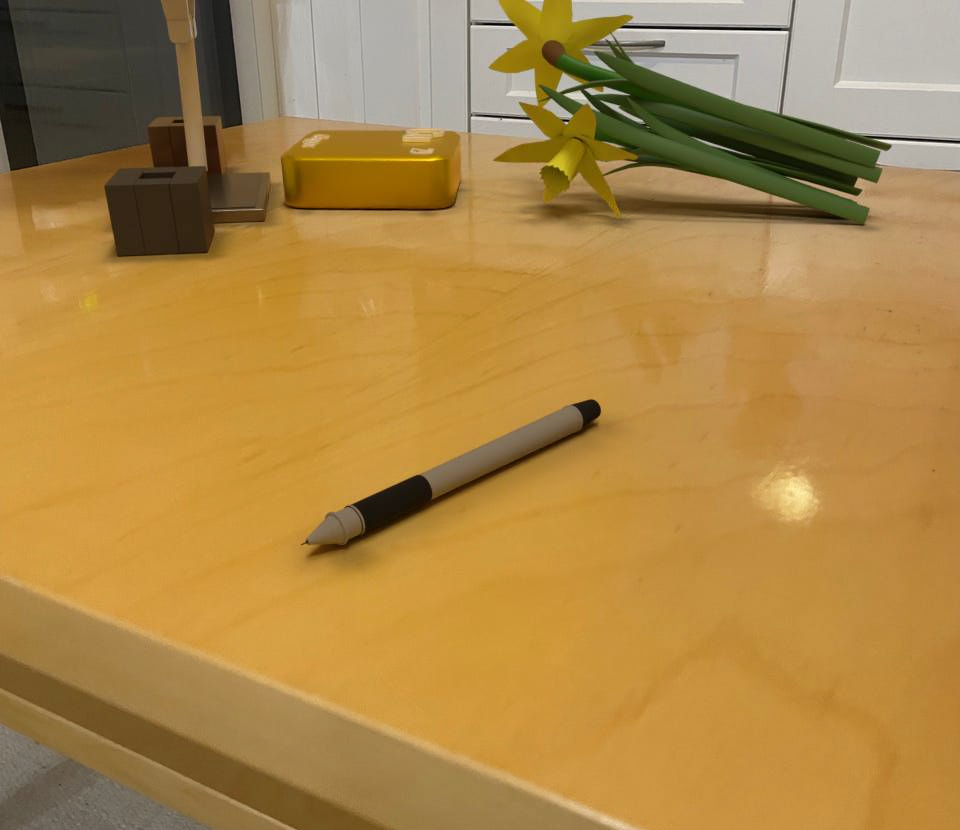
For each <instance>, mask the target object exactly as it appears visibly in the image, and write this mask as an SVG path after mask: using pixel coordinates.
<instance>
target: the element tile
mask: <svg viewBox="0 0 960 830" xmlns="http://www.w3.org/2000/svg"><path fill="white" fill-rule="evenodd" d="M280 164H281V174H282V184H283V195H284V202H285V204H286V205H287V206H289V207H291V208H296V209H327V210H328V209H329V210H330V209H332V210H333V209H334V210H335V209H336V210H337V209H338V210H339V209H341V210H342V209H343V210H351V209H352V210H441V209H445V208H449V207H451V206H453V205H454V203H455V201H456V197H457V193H458V189H459V185H460V182H461V179H462V137H461V136H460V134H459V133H457V131H454V130H444V129H442V128H433V127H432V128H429V127H423V128H422V127H420V128H419V127H418V128H409V129H406V130H367V129H366V130H365V129H364V130H359V129H358V130H351V129H350V130H349V129H347V130H346V129H343V130H342V129H337V130H336V129H334V130H333V129H331V130H330V129H326V130H325V129H324V130H323V129H321V130H320V129H319V130H314V131H312V132H310V133H307V134H305V135H304V136H303V137H302V138H301V139H300V140H298V141H297V142H296V143H295V144H294V145H292V146H291V147H289V148H288V150H286V151H285V152H283V153H282V154H281V155H280Z"/></svg>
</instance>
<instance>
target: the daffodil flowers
mask: <svg viewBox="0 0 960 830" xmlns="http://www.w3.org/2000/svg"><path fill="white" fill-rule="evenodd" d="M497 1H498V3H499V6H500V7H501V9H502V10H503V12H504V14H505V16H506V17H507V18H508V20H509V21H511V23H512V24H513V25H514V26H515V27H516V28H517V29H518V30H519V31H520V32H521V33H522V34H523V36H525V38H526V39H525V40H522V41H520V42H519V43H517V44H516V45H514V46H513V47H511V48H509V49H508V50H507V51H505V52H504V53H502V54H501V55H500V56H498V58H496V59H495V60H494V61H493V62H492V63H491V64H490V65H489V66H488V69H489V70H491V71H495V72H499V73H502V74H520V73H523V72H526V71H530V70H534V89H535V96H536V101H537V105H536V104H529V103H526V102H522V101H518V104H519V106H520V107H521V109H522V110H523V112H524V113H525V115H526V116H527V117H528V118H529V119H530V120H531V121H532V123H533V124H534V125H535V126H536V127H537V128H538V129H539V130H540V131H541V133H542V134H543V135H544V136H545V137H547V138H549V139H545V140H541V141H534V142H526V143H520V144H518V145H516V146H512V147H510V148H508V149H506V150H505V151H504V152H502V153H500V154H499V155H498V156H496V157H495V158H494V159H492V161H493V162H497V163H513V164H514V163H516V164H518V163H519V164H520V163H522V164H524V163H525V164H526V163H527V164H528V163H529V164H531V163H532V164H533V163H534V164H537V163H539V164H543V163H545V165H543V166H542V167H541V168H540V169H539V170H540V172H539V173H538V174H539V175H540V180H543V185H545V186H544V190H543V203H544V204H547V203H549V202H551V201H552V200H553V199H554V198H556V197H557V196H558V195H559V194H561V193H562V192H563V191H564V193H566V192H567V191H568V190H569V189H570V186H571V183H572V181H573V180H574V179H575V178H576V177H577V176H578V175H579V174H580V175H581V177H582V179H583V180H584V181H586V183H587V184H588V185H589V186H590V187H591V188H592V189H593V190H594V191H595V192H596V193H597V194H598V196H599V197H601V198H602V199H603V200H604V201H605V202H606V203H607V204H608V206H609V208H610V209H611V212H613V214H614V215H615V216H616V217H617V218H619V219H622V218H623V217H622V214H621V212H620V210H619V207H618V205H617V202H616V200H615V197H614V194H613V193H612V190H611V188H610V186H609V184H608V182H607V180H606V178H605V177H606V176H609V175H612V174H614V173H618V172H622V171H625V170H628V169H633V168H634V169H635V168H641V167H642V168H643V167H657V168H667V169H673V170H677V171H681V172H682V171H683V172H687V173H691V174H697V175H702V176H705V177H710V178H716V179H720V180H725V181H728V182H731V183H734V184H737V185H741V186H743V187H747V188H750V189H753V190H756V191H759V192H763V193H765V194H768V195H771V196H775V197H777V198H780V199H784V200H787V201H790V202H793V203H796V204H800V205H801V206H802V205H803V206H806V207H808V208H812V209H815V210H818V211H821V212H823V213H824V212H825V213H827V214H830V215H833V216H836V217H840V218H843V219H846V220H849V221H852V222H855V223H858V224H861V225H865V224H866V221H867V219H868V216H869V213H870V210H871V209H870V207H868V206H864V205H862V204H859V203H858V201H855V200H853V199H851V198H847V197H844V196H840V195H839V194H836V193H833V192H830V191H827V190H824V189H821V188H818V187H815V186H813V185H817V186H820V187H824V188H828V189H831V190H834V191H838V192H841V193H843V194H844V193H845V194H848V195H851V196H854V197H858V196H860V195H861V194H862V192H863V189H862V188H859V187H856V185H857V181H858V179H861V180H865V181H868V182H870V183H874V184H878V183H879V181H880V178H881V176H882V173H883V168H882V167H879V166H876V165H877V163H878V160H879V158H880V155H881V151H884V152H888V151H890V149H891V148H892V147H893V144H891V143H887V142H884V141H881V140H877V139H874V138H870V137H867V136H864V135H860V134H857V133H854V132H850V131H847V130H843V129H840V128H836V127H833V126H829V125H826V124H822V123H819V122H814V121H810V120H806V119H803V118H799V117H794V116H791V115H786V114H783V113H779V112H775V111H771V110H767V109H763V108H759V107H755V106H751V105H749V104H748V105H747V104H744V103H741V102H738V101H735V100H733V99H730V98H727V97H725V96H722V95H719V94H716V93H713V92H710V91H708V90H705V89H703V88H699V87H696V86H695V85H692V84H689V83H686V82H683V81H681V80H677V78H673V77H670V76H667V75H665V74H662V73H660V72H657V71H655V70H652V69H649V68H647V67H644V66H641V65H639V64H636V63H635V62H634V61H633V60H632V59H631V57H630V56H629V55H628V54H627V52H626V51H625V50H624V48H623V47H622V45H621V44H620V43H619V41H618V39H617V38H616V37H615V36H614V34H613V33H614V32H616V31H617V30H618V29H620V28H622V27H623V26H624V25H627V24H628V23H629V22H631V21H632V19H634V16H633V15H631V14H621V15H617V16H616V15H615V16H601V17H594V18H587V19H582V20H577V21H573V16H574V15H573V0H543V3H542V7H541V10H540V9H539V8H537V7H536V6H535V5H533V4H531V3H530V2H529V1H527V0H497ZM608 36H611V37H612V38H613V40H614V42H615V43H616V45H617V46H616V45H614V43H612V42H611V41H609V39H607V37H608ZM603 39H604V40H605V42H606V43H607V45H608V46H609V49H610V50H611V52H612V53H613V54H614V55H611V54H609V53H605V52H602V51H597V50H594V51H593V53H594V55H595V56H596V57H597V58H598V59H599V60H600V61H602V62H603V63H604V64H605V65H606V66H607V67H608V68H609V69H607V68H603V67H600V66H597V65H595V64H592V63H591V62H590V60H589V59H588V57H586V55H585V54H584V53H583V52H582V50H584V49H585V48H588V47H590V46H591V45H594V44H595V43H597V42H599V41H601V40H603ZM617 47H618V48H617ZM563 75H566V76H567V77H569V78H571V79H572V80H574V81H576V82H578V83H579V85H574V86H572V87H568V88H565V89H563V90H561V91H559V92H558V91H557V89H558V87H559V84H560V82H561V79H562V77H563ZM604 88H606V89H610V90H614V91H617V92H619V93H604V90H605V89H604ZM589 89H592V90H594V91H597V92H599V93H596V94H591V93H590V92H588V91H587V90H589ZM579 91H580V92H581V94H582V95H583V96H584V98H585V99H586V100H587V101H588V102H589V103H590V104H591V105H590V104H589V103H587V102H586V103H585V104H582V103H580V102H578V101H577V100H575V99H572V98H571V97H569V96H567V95H566V94H570V93H571V94H572V93H575V92H579ZM620 93H623V94H620ZM550 100H552V101H554V102H555V103H556V104H557V105H558V106H559V107H560V108H561V109H563V110H565V111H567V112H568V113H569V114H570V115H572V116H571V118H570V119H569V121H568V122H567V123H566V122H564V121H563V120H562V119H561V118H560V117H558V116H557V115H556V114H555V113H554V112H553V111H551V110H548V109H547V108H544V107H545V106H546V105H547V104H548V103H549V101H550ZM606 103H608V104H612V105H615V106H618V109H619V110H621V111H622V112H625V113H626V114H628V115H630V116H631V117H634V118H637V119H639V120H641V121H642V122H643V123H644V124H642V123H640V122H637V121H636V120H634V119H632V118H630V117H628V116H626V115H624V114H623V113H620V112H619V111H617V110H615V109H613V108H612V107H610V106H609V105H607V104H606ZM591 106H593V107H594V108H595V109H594V108H592V107H591ZM708 143H710V144H713V145H710V144H708ZM615 145H616V146H615ZM714 145H715V146H714ZM617 146H618V147H617ZM615 161H616V162H618V161H625V162H632V163H628V164H625V165H622V166H619V167H617V168H613V169H612V170H610V171H607V172H605V173H602V171H601V169H600V166H599V164H598V162H604V163H609V162H615ZM798 180H799V181H798ZM800 181H803V182H807V183H809V184H810V183H811V184H813V185H809V184H807V183H803V182H800Z"/></svg>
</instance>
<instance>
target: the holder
mask: <svg viewBox="0 0 960 830" xmlns="http://www.w3.org/2000/svg"><path fill="white" fill-rule="evenodd" d="M103 189H104V193H105V199H106V204H107V210H108V214H109V219H110V225H111V230H112V235H113V240H114V245H115V251H116V255H117V257H127V256H129V257H131V256H152V255H154V256H155V255H178V254H197V253H200V254H201V253H208V251H209V248H210V245H211V243H212V240H213V237H214V234H215V231H216V229H215V223H213V215H212V208H211V201H210V194H209V187H208V179H207V172H206V167H205V166H188V167H154V166H153V167H126V168H125V167H124V168H123V167H122V168H121V167H120V168H118V169H117V171H115V173H114V174H113V175H112V176H111V177H110V178H109V179H108V180H107V181H106V183H105V184H104V185H103Z"/></svg>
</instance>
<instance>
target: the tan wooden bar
mask: <svg viewBox="0 0 960 830" xmlns="http://www.w3.org/2000/svg"><path fill="white" fill-rule="evenodd" d="M189 19H190V21H191V28H192V36H193V38H192V40H191V41H190V42H189V43H174V45H175V53H176V64H177V71H178V80H179V91H180V99H181V109H182V117H183V119H184V128H185V137H186V146H187V155H188V164H189V166H205V167H206V172H207V171H208V168H207V159H206V149H205V140H204V130H203V121H202V116H203V113H202V111H203V110H202V103H201V102H202V101H201V93H200V84H199V73H198V64H197V63H198V62H197V54H196V46H195V45H196V43H195V39H194V35H193V25H192V16H191V15H190V14H189Z"/></svg>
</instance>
